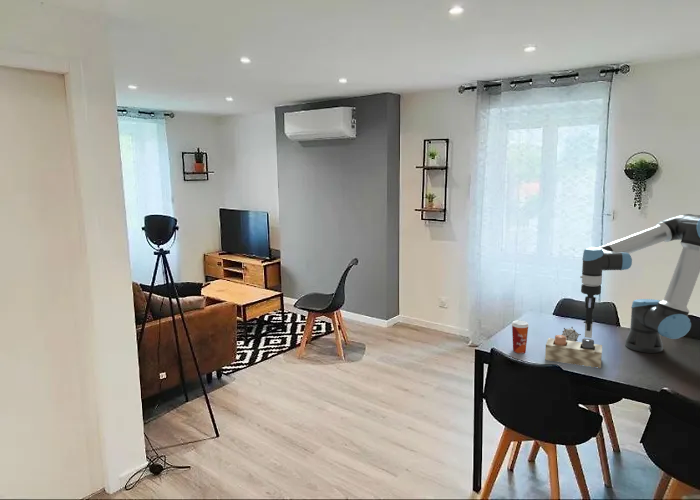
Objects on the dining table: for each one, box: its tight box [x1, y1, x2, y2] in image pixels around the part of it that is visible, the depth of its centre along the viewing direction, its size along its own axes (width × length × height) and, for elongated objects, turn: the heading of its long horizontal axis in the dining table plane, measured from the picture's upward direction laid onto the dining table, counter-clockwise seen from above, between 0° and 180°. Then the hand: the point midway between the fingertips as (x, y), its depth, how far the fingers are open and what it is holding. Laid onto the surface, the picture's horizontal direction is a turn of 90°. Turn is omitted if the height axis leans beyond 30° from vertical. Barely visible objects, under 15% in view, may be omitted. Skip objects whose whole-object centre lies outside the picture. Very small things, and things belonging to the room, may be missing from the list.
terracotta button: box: [554, 334, 566, 346], centre depth 209 cm, size 5×5×6 cm
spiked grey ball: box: [561, 326, 581, 342], centre depth 227 cm, size 9×8×10 cm
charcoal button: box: [581, 338, 595, 350], centre depth 204 cm, size 5×5×6 cm
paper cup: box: [510, 319, 530, 354], centre depth 219 cm, size 8×8×14 cm
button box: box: [544, 337, 603, 369], centre depth 207 cm, size 22×10×7 cm, turn 61°
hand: (588, 337), depth 203 cm, fingers closed
